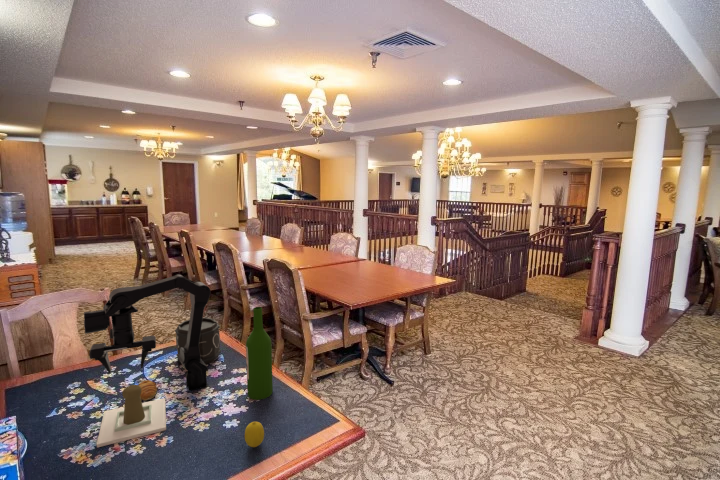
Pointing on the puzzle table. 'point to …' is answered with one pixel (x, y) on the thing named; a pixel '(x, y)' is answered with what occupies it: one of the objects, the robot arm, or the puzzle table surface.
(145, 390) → the pastry
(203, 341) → the dark grey round container
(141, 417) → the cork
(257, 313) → the wine bottle
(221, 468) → the puzzle table surface
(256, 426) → the lemon
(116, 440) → the cream flat square slab
